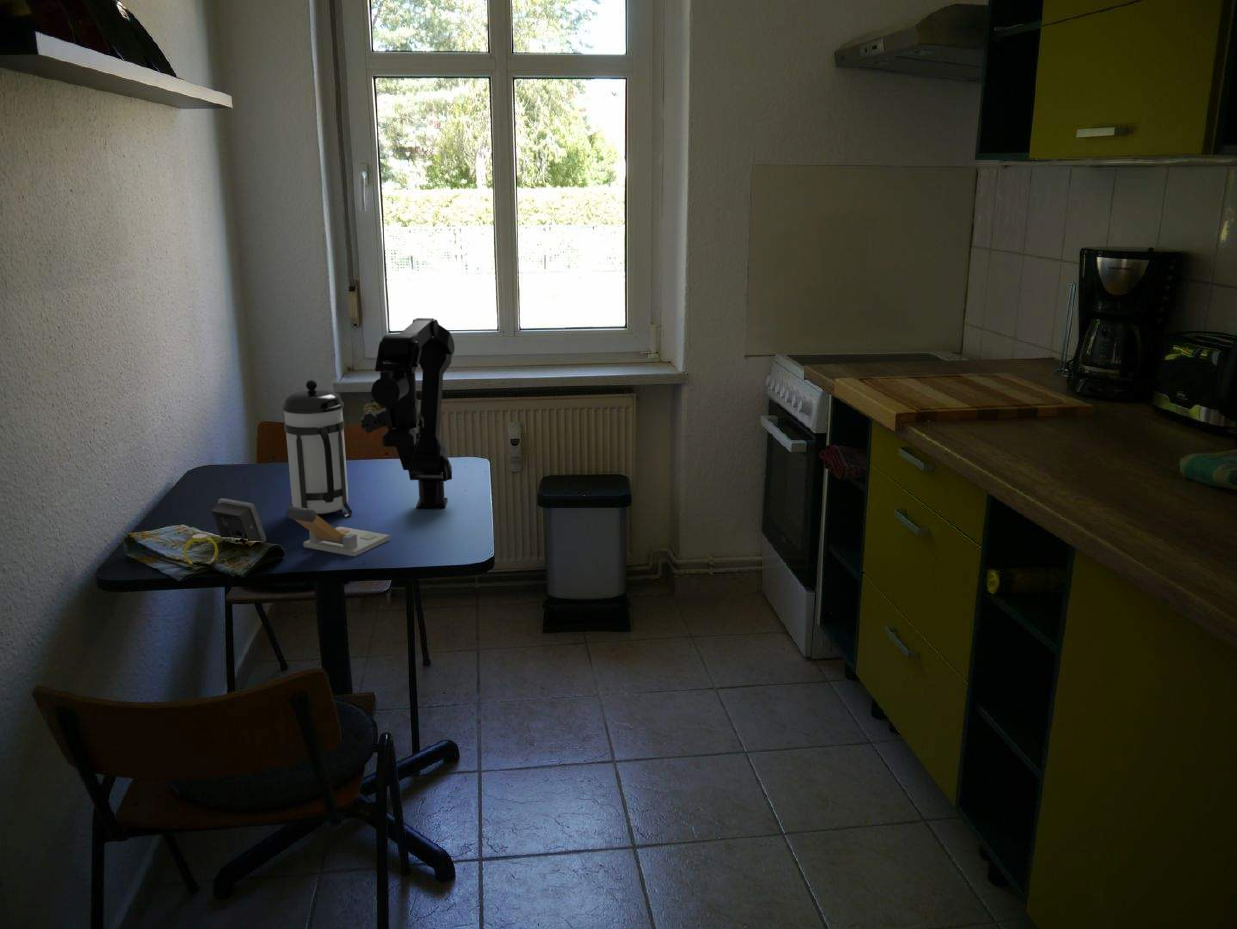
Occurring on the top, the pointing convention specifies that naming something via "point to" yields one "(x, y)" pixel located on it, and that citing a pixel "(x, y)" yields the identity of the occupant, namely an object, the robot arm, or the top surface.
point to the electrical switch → (238, 520)
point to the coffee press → (316, 450)
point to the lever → (315, 524)
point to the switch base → (348, 541)
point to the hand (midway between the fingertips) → (406, 469)
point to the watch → (199, 538)
